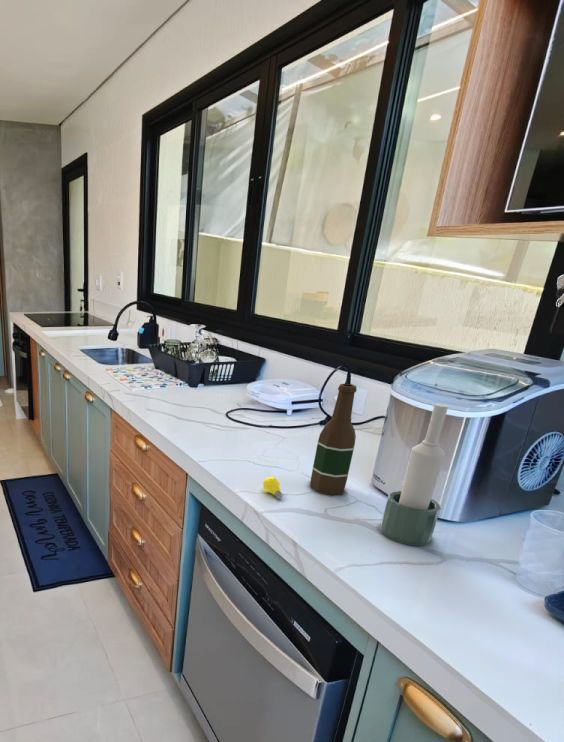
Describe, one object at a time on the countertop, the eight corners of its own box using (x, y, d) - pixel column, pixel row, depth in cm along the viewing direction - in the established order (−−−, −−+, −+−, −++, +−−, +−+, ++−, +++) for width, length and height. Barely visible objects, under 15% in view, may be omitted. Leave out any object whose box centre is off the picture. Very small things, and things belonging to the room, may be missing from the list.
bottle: (394, 522, 99) (427, 399, 90) (423, 531, 96) (460, 405, 87) (387, 532, 96) (421, 405, 86) (418, 541, 92) (456, 411, 83)
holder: (417, 524, 100) (426, 492, 97) (438, 547, 92) (449, 513, 89) (373, 521, 100) (381, 489, 98) (391, 543, 93) (400, 510, 90)
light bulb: (268, 486, 114) (277, 474, 112) (282, 504, 110) (291, 492, 108) (257, 484, 113) (265, 472, 111) (270, 502, 108) (279, 490, 106)
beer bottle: (302, 486, 115) (320, 383, 106) (320, 478, 119) (340, 379, 111) (333, 499, 109) (356, 391, 100) (352, 490, 114) (375, 386, 105)
